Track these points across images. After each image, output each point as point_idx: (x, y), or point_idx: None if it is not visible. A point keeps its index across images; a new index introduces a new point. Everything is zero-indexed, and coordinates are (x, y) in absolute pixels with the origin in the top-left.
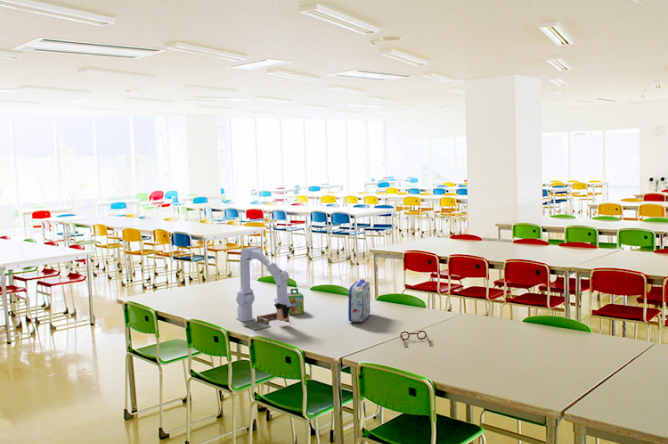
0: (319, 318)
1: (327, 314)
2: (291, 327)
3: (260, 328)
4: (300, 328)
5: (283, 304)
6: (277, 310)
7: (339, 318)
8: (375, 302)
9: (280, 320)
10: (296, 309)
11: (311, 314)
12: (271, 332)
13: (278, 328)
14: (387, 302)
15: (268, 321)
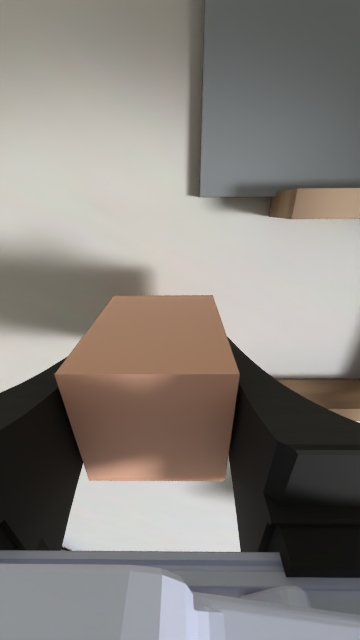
0: (165, 497)
1: (200, 532)
2: (82, 331)
3: (205, 16)
4: (25, 362)
5: (52, 562)
6: (203, 358)
7: (109, 532)
8: None
9: (135, 297)
10: None
11: None
12: (2, 83)
13: (113, 236)
14: None
15: (285, 214)
